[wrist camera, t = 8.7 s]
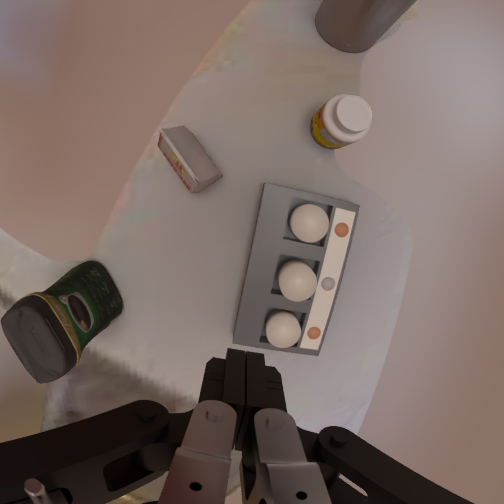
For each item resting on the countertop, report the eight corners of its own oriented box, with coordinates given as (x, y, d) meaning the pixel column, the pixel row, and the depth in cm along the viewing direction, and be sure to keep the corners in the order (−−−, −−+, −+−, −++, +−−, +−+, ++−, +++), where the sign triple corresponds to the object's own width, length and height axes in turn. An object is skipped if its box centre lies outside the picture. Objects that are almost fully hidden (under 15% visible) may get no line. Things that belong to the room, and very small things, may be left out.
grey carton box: (193, 134, 37) (176, 118, 28) (222, 175, 39) (214, 171, 29) (170, 151, 38) (146, 140, 28) (199, 192, 39) (183, 194, 29)
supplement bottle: (327, 101, 37) (351, 77, 27) (357, 130, 37) (389, 115, 27) (300, 128, 37) (317, 110, 27) (331, 158, 38) (358, 150, 28)
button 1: (269, 305, 41) (270, 314, 38) (301, 311, 41) (304, 320, 38) (262, 334, 41) (263, 345, 39) (293, 339, 42) (296, 350, 39)
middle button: (281, 256, 38) (284, 262, 35) (315, 263, 38) (321, 269, 35) (274, 290, 39) (276, 298, 36) (307, 295, 39) (311, 304, 36)
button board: (263, 183, 39) (265, 183, 36) (352, 203, 40) (360, 205, 36) (233, 333, 43) (232, 344, 40) (314, 345, 44) (318, 357, 40)
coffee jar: (64, 274, 41) (-15, 319, 23) (100, 252, 40) (20, 294, 22) (94, 328, 43) (31, 395, 25) (132, 312, 42) (73, 382, 24)
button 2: (292, 200, 38) (296, 201, 35) (326, 207, 38) (332, 209, 35) (285, 234, 39) (288, 238, 36) (318, 241, 39) (324, 245, 36)
